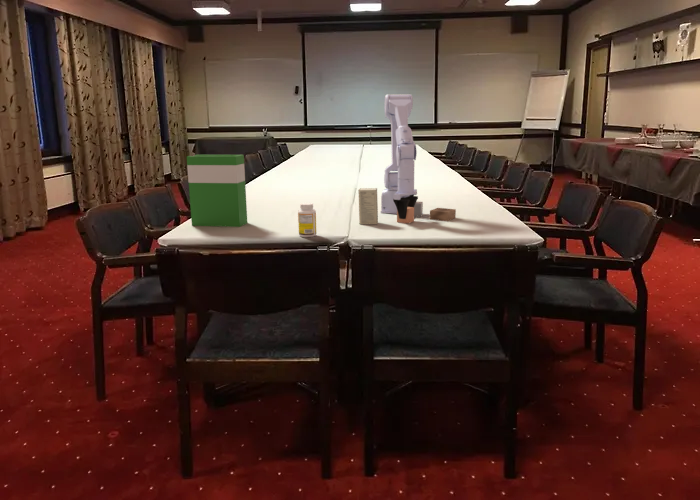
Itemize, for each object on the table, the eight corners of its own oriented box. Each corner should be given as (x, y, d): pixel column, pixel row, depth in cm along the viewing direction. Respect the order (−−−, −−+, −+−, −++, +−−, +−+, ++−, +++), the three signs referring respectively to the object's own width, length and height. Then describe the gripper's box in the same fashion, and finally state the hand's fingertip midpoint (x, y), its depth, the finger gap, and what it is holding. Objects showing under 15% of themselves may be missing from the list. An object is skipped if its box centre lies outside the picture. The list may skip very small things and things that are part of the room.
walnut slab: (429, 220, 207) (429, 210, 206) (437, 217, 213) (437, 207, 212) (447, 221, 203) (448, 212, 202) (455, 218, 209) (455, 209, 208)
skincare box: (378, 222, 202) (378, 187, 199) (376, 224, 198) (376, 189, 195) (360, 222, 203) (360, 187, 200) (358, 224, 199) (358, 189, 196)
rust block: (397, 222, 202) (397, 208, 201) (402, 220, 206) (402, 206, 205) (408, 223, 200) (408, 209, 199) (414, 221, 204) (414, 207, 203)
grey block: (408, 216, 213) (408, 203, 212) (410, 214, 218) (410, 201, 216) (420, 216, 212) (420, 203, 211) (422, 214, 216) (422, 201, 215)
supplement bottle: (307, 233, 185) (306, 201, 183) (320, 235, 182) (319, 203, 179) (295, 236, 181) (294, 204, 179) (307, 238, 178) (306, 205, 175)
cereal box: (191, 225, 201) (186, 156, 195) (201, 221, 208) (196, 154, 202) (239, 226, 197) (235, 156, 192) (247, 222, 205) (243, 154, 199)
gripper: (407, 181, 191) (407, 221, 195) (425, 177, 204) (424, 215, 207) (388, 180, 195) (388, 220, 198) (406, 176, 207) (406, 213, 210)
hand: (405, 217), depth 203 cm, fingers closed on rust block, 4 cm apart
